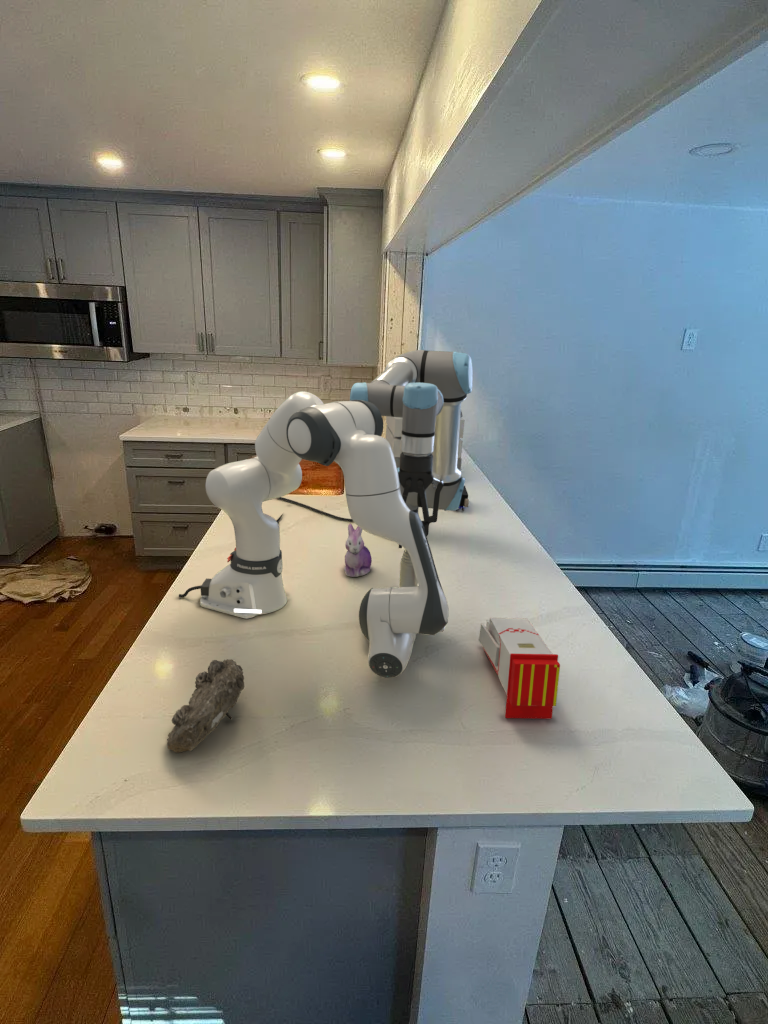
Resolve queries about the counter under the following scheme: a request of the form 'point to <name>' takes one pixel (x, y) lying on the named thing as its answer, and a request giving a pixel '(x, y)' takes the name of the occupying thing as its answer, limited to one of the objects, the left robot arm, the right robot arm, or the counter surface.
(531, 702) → the toy
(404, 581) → the bottle
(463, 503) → the figurine character
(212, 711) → the fossil
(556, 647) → the counter surface
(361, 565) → the figurine
